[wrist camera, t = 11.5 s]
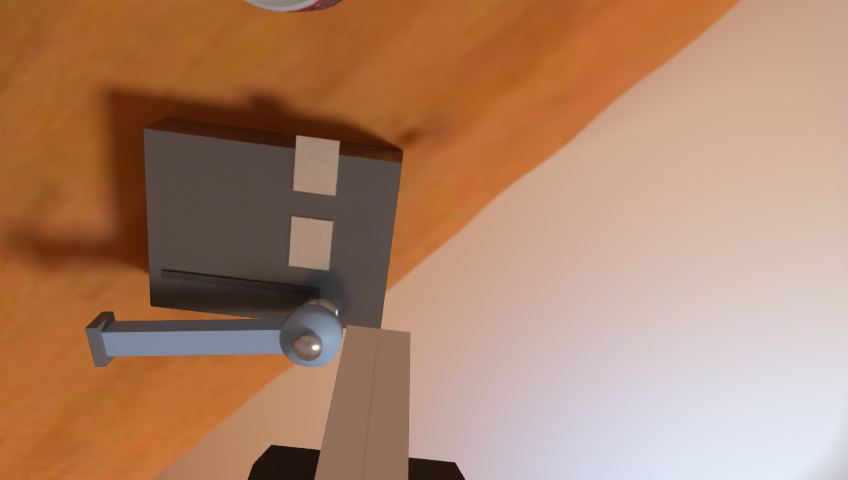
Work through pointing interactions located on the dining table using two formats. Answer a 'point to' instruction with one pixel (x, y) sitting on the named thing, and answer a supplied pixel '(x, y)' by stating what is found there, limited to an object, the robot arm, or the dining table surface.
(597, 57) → the dining table surface
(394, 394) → the robot arm
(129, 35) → the dining table surface
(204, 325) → the swing bar
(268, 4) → the canned food
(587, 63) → the dining table surface
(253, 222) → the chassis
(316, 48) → the dining table surface
